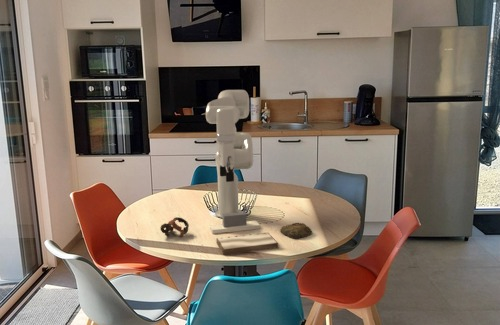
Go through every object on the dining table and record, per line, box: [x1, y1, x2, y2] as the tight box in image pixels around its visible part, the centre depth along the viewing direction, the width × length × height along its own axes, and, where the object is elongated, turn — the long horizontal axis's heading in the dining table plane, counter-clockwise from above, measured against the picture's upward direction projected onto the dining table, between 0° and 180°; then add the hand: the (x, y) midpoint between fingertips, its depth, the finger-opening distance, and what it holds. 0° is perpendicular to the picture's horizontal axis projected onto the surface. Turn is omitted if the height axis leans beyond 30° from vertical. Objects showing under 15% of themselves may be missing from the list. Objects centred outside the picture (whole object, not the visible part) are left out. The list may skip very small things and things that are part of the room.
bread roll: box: [280, 222, 313, 240], centre depth 200 cm, size 13×12×5 cm
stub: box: [208, 211, 261, 235], centre depth 205 cm, size 6×21×7 cm, turn 106°
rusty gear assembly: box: [160, 216, 190, 238], centre depth 199 cm, size 12×10×8 cm
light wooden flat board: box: [215, 232, 279, 256], centre depth 188 cm, size 12×22×2 cm, turn 106°
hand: (226, 178), depth 198 cm, fingers open, 9 cm apart
